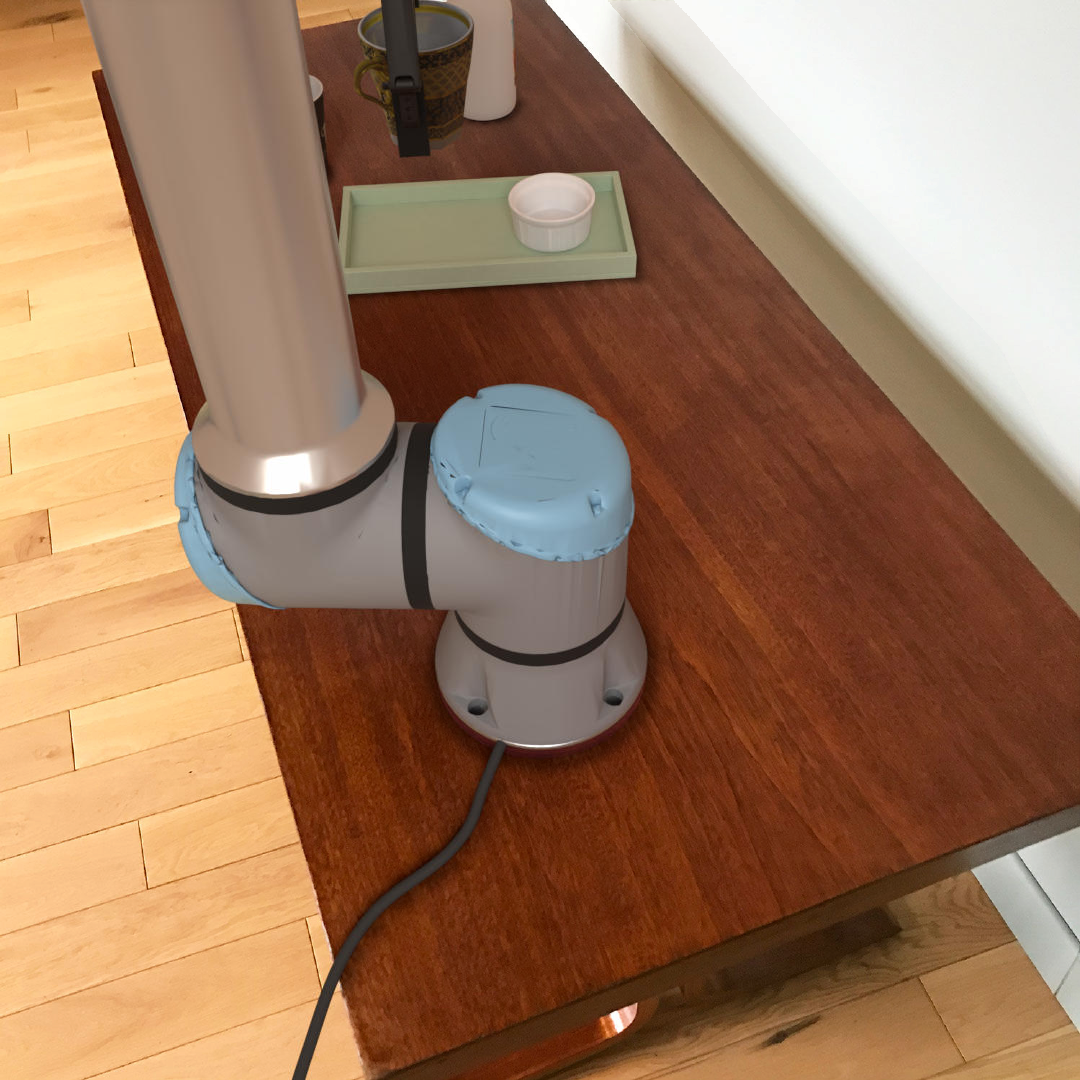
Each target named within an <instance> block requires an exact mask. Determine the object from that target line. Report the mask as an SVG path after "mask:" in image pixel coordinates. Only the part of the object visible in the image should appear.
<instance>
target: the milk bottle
mask: <svg viewBox="0 0 1080 1080" xmlns="http://www.w3.org/2000/svg"><path fill="white" fill-rule="evenodd" d="M446 3H450V4H453V5H455V6H458V7H460V8H462V9H463V10H465V11H466V12H467V13H469V14H470V16H471V17H472V19H473V21H474V36H473V48H472V56H471V64H470V70H469V75H468V80H467V90H466V99H465V108H464V117H463V118H464V119H468V120H472V121H473V120H474V121H481V122H482V121H483V122H484V121H493V120H498V119H501V118H503V117H507V116H508V115H509V114H510V113H511V112H513V111H514V109H515V107H516V104H517V80H516V79H517V78H516V75H517V74H516V53H515V32H514V16H513V5H512V1H511V0H446Z"/></svg>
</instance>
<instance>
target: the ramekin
mask: <svg viewBox="0 0 1080 1080" xmlns="http://www.w3.org/2000/svg"><path fill="white" fill-rule="evenodd" d="M570 174H571V173H564V172H544V173H538V174H534V175H529V176H530V177H528V178H525V179H523V180H521V181H520V182H518V183H517V184H516V185H515V186H514V187H513V188H512V189H511V191H510V193H509V195H508V202H509V206H510V209H511V213H512V219H513V226H514V231H515V235H516V237H517V238H518V240H519V241H520V242H521V243H522V244H523V245H525V246H526V247H528V248H530V249H533V250H536V251H540V252H549V253H555V252H562V251H567V250H570V249H573V248H575V247H577V246H579V245H580V244H582V243H583V242H584V241H585V240H586V239H587V237H588V235H589V233H590V229H591V220H592V210H593V206H594V203H595V192H594V190H593V188H592V186H591V185H590V184H589V183H588V182H586V181H585V180H583V179H581V178H579V177H577V176H574V175H570Z"/></svg>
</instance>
